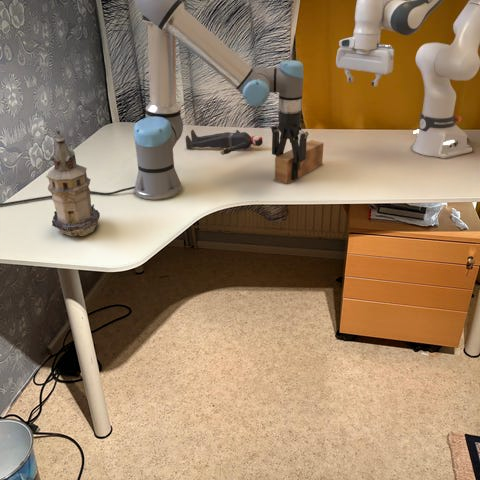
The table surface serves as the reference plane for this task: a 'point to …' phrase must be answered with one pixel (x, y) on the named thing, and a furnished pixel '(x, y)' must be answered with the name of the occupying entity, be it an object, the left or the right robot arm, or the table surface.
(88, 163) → the table surface
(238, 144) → the toy
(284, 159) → the bar
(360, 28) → the right robot arm
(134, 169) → the table surface
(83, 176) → the miniature building
